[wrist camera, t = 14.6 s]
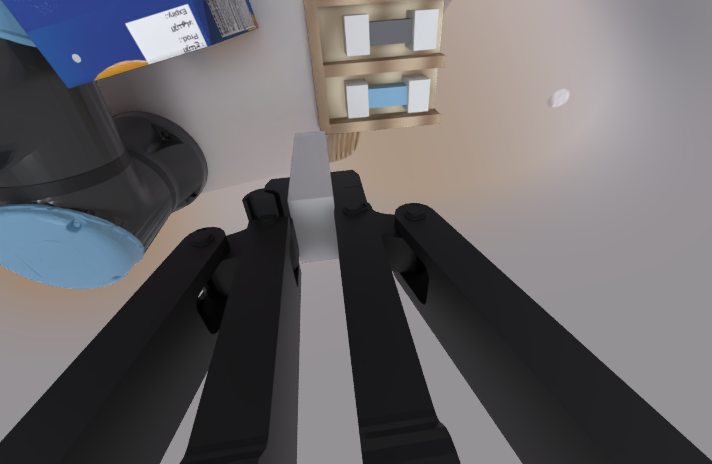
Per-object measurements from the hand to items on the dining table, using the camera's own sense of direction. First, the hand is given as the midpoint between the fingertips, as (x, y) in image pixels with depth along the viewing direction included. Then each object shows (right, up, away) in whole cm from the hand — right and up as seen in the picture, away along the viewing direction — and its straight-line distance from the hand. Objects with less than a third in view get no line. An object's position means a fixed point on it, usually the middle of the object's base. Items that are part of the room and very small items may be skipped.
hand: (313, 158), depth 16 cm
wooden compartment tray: (+6, +20, +27) cm, 34 cm away
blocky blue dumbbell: (+6, +16, +28) cm, 33 cm away
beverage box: (-16, +23, +21) cm, 36 cm away
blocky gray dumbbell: (+6, +22, +24) cm, 33 cm away
